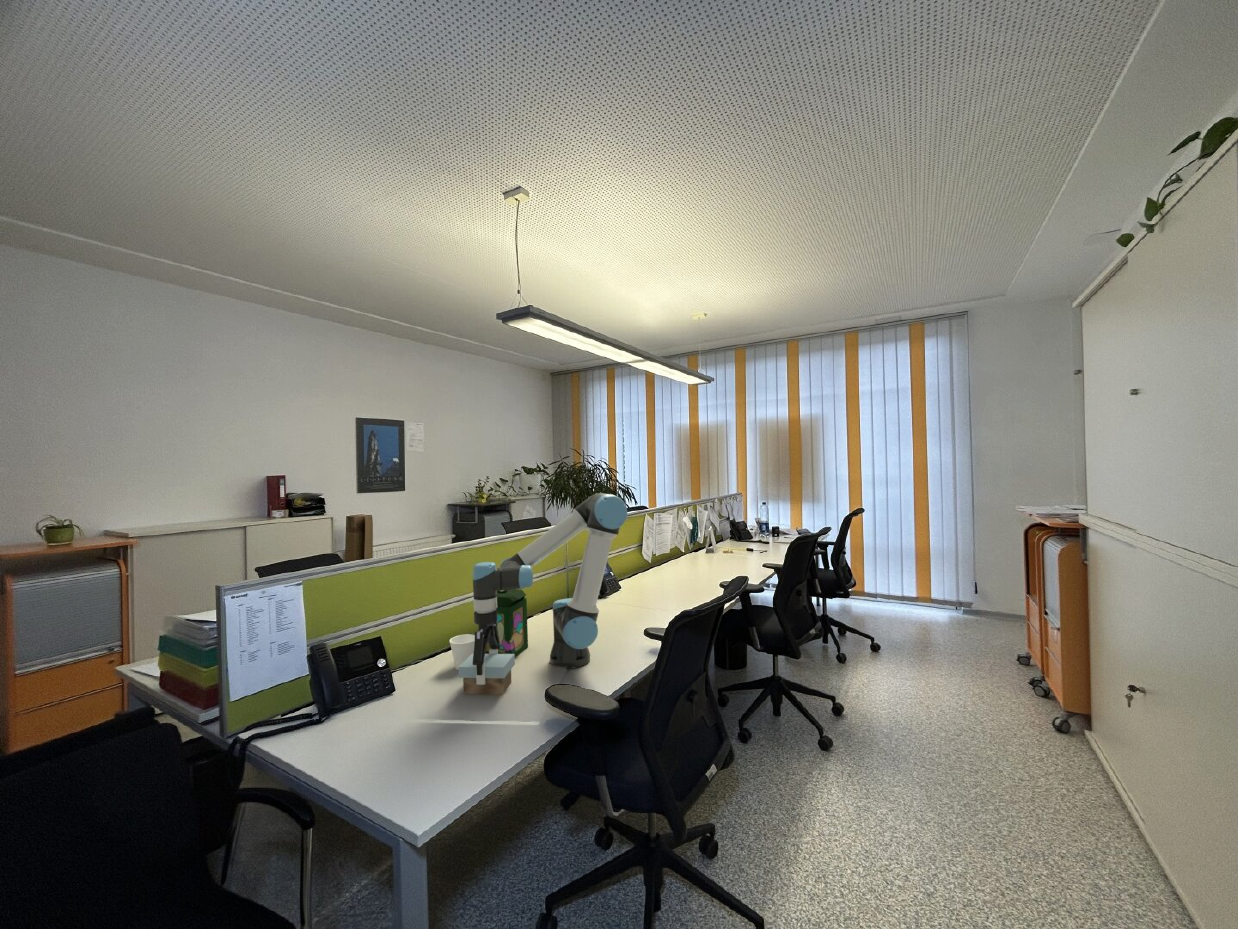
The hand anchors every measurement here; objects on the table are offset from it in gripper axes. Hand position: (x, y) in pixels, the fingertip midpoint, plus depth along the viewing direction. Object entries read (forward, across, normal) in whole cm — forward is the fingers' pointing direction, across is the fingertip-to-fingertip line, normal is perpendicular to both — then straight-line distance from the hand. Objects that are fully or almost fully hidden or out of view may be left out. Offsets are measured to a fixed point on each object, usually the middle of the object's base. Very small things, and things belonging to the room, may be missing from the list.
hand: (487, 676), depth 163 cm
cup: (+5, -17, -16) cm, 24 cm away
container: (+5, -33, -6) cm, 34 cm away
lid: (-2, 0, 0) cm, 2 cm away
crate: (+5, 0, 0) cm, 5 cm away
